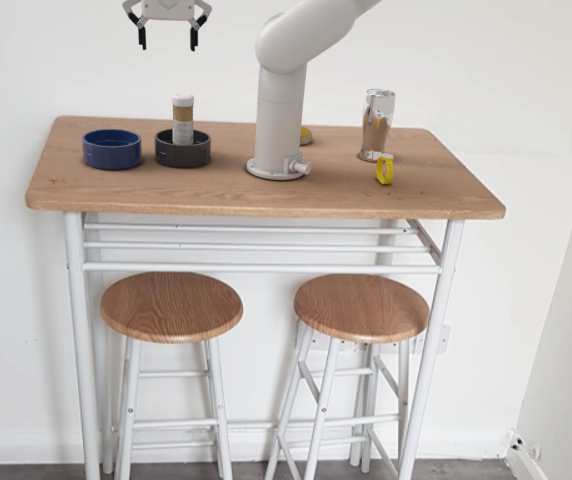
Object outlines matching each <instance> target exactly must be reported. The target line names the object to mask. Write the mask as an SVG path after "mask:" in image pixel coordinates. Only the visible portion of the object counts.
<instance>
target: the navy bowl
mask: <svg viewBox="0 0 572 480" xmlns="http://www.w3.org/2000/svg"><path fill="white" fill-rule="evenodd" d="M81 144H82V145H81V146H82V156H83V162H84V163H86V164H87V165H89V166H90V167H94V168H96V169H101V170H108V171H109V170H110V171H113V170H115V171H117V170H125V169H129V168H133V167H136V166H137V165H138V164H140V163H141V162H142V161H143V153H142V151H143V148H142V137H141V135H140V134H138V133H137V132H134V131H131V130H126V129H121V128H101V129H100V128H99V129H94V130H90V131H87V132H86V133H84V134H83V135H82V136H81Z"/></svg>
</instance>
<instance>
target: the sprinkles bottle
mask: <svg viewBox="0 0 572 480" xmlns="http://www.w3.org/2000/svg"><path fill="white" fill-rule="evenodd" d="M171 105H172V128H173V144H175V145H193V129H194V106H195V97H194V95H193V94H192V93H188V92H176V93H173V94H172V95H171Z"/></svg>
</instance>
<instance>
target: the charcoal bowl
mask: <svg viewBox="0 0 572 480" xmlns="http://www.w3.org/2000/svg"><path fill="white" fill-rule="evenodd" d="M153 140H154V157H155V160H156V161H158V162H159V163H161V164H163V165H165V166H168V167H171V168H180V169H181V168H182V169H190V168H199V167H201V166H205V165H206V164H208V163H209V162H210V161H211V159H212V137H211V135H210V134H209V133H207V132H205V131H202V130H199V129H194V128H193V145H175V144H173V127H172V128H166V129H162V130H159V131H157V132H155V134H154V139H153Z"/></svg>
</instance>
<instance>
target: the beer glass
mask: <svg viewBox="0 0 572 480" xmlns="http://www.w3.org/2000/svg"><path fill="white" fill-rule="evenodd" d="M396 95H397V93H396V92H394V91H393V90H389V89H384V88H370V89H367V90H366V93H365V97H364V102H363V108H362V144H361V147H360V150H359V153H358V157H359V158H360V159H361V160H363V161H366V162H370V163H377V161H378V159H379V157H380V156H381V154H386V142H387V138H388V136H389V133H390V129H391V126H392V123H393V120H394V114H395V107H396Z"/></svg>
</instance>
